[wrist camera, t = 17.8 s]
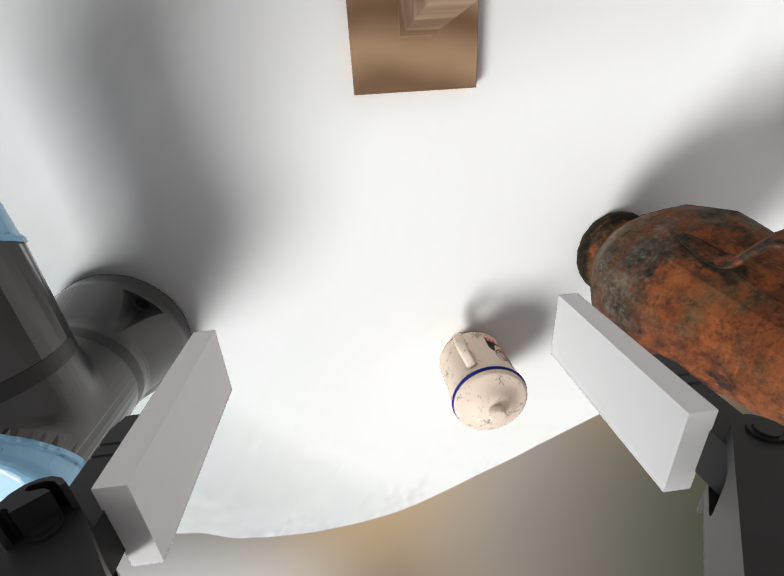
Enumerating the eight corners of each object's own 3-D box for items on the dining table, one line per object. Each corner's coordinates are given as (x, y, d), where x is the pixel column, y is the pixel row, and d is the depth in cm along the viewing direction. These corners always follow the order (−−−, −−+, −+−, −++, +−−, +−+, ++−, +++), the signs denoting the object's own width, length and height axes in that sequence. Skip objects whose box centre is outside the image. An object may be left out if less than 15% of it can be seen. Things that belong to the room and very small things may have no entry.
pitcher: (579, 333, 56) (801, 553, 29) (515, 207, 47) (744, 351, 20) (693, 268, 53) (1053, 442, 26) (647, 123, 45) (1113, 157, 18)
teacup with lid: (511, 365, 57) (549, 425, 46) (453, 394, 58) (477, 459, 47) (479, 300, 52) (513, 351, 41) (416, 332, 53) (434, 390, 42)
